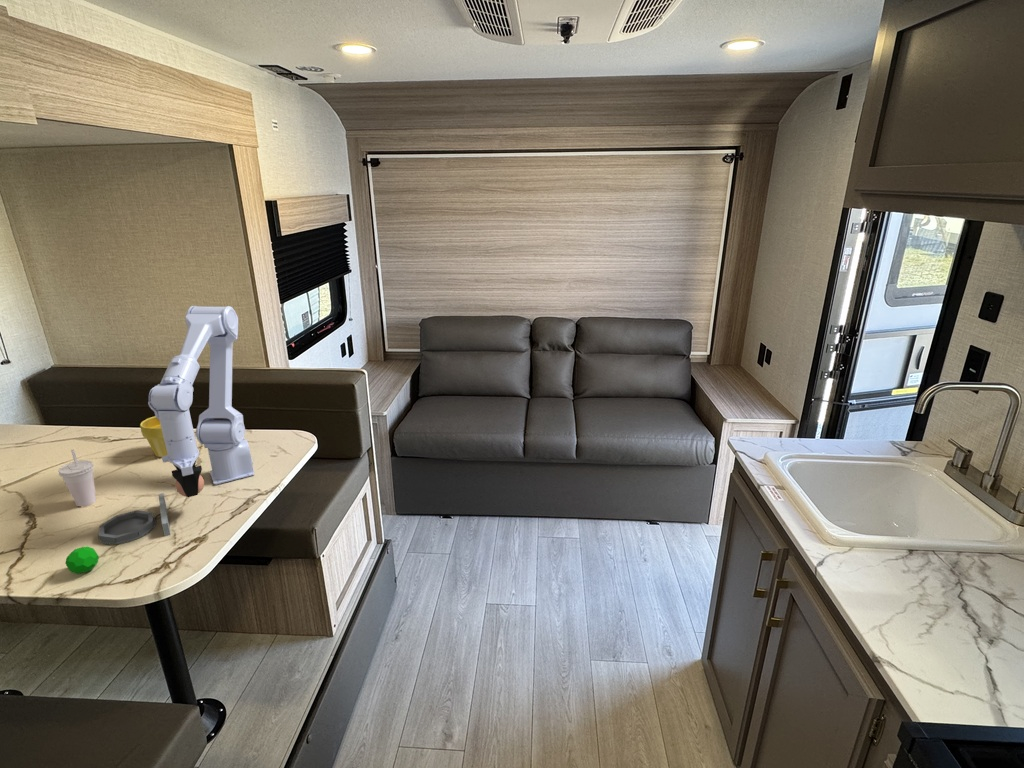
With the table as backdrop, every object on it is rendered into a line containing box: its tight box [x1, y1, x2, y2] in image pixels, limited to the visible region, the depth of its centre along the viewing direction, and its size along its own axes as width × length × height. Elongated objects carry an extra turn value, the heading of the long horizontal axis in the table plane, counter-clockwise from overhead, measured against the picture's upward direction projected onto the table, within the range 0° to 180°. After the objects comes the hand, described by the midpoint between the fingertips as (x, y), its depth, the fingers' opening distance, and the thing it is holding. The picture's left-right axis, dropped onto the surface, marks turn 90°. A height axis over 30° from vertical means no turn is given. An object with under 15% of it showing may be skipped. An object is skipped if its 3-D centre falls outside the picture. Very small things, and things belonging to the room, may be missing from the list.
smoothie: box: [57, 449, 97, 507], centre depth 123 cm, size 6×6×14 cm
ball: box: [174, 474, 205, 498], centre depth 121 cm, size 6×6×6 cm
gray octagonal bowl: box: [98, 509, 157, 546], centre depth 116 cm, size 10×10×2 cm
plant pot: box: [139, 415, 168, 458], centre depth 148 cm, size 10×10×10 cm
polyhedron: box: [65, 546, 100, 575], centre depth 103 cm, size 5×5×5 cm
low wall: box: [158, 493, 171, 537], centre depth 119 cm, size 1×14×3 cm, turn 35°
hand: (191, 489), depth 121 cm, fingers closed on ball, 5 cm apart
